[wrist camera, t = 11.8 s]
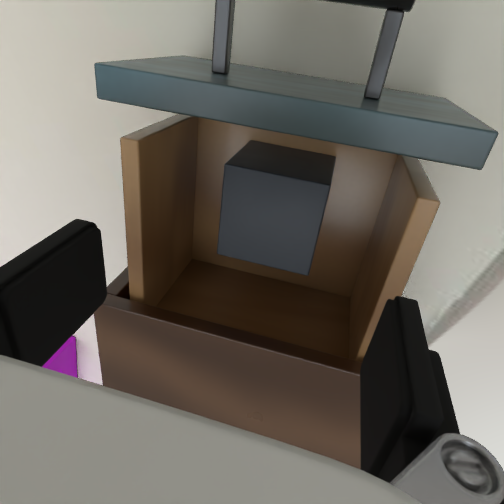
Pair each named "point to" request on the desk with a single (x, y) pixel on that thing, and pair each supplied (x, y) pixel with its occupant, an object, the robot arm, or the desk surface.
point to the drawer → (294, 136)
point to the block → (274, 205)
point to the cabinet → (230, 375)
